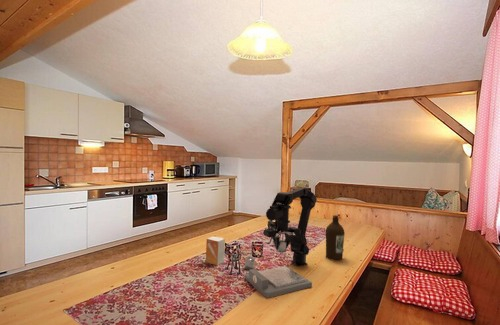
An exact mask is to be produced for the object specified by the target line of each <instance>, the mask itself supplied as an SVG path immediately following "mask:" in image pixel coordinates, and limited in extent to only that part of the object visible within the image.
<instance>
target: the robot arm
mask: <svg viewBox="0 0 500 325" xmlns="http://www.w3.org/2000/svg"><path fill="white" fill-rule="evenodd" d="M297 198H298V199H300V205H301V211H300V216H299V220H298V224H297V227H296V226H289V224H290V223H291V221H290V220H289V218H290V217H289V216H290V209H291V208H292V206H291V204H292V203H293V201H294V200H295V199H297ZM316 203H317V196H316V195H315V193H314V192H312V191H310V190H309V189H308V187H304V186H299V187H297V188H295V189H292V190H290V191H287V192H286V191H282V192H280V191H279V192H277V194H276V196H275V197H274V199H273V201H272V203H271V205H269V208H268V209H267V210H266V212H265V217H266V219H267V220H268V221H267V228H265V229H264V230H263V232H262V234H263V235H264V236H265V237H267V238H271V239H272V241H273V243H274V244H273V245H274V247H275V250H276V249H277V250H278V246H279V240H281V237H280V236H279V235H281V234H282V235H283V234H284V240H286V241H287V245H286V250H287V249H288V247H289V246H290V252H293V255H292V260H291V263H292V264H293V265H296V266H298V267H303V266H306V265H307V266H308V263H307V255H309V253H310V249H309V247H308V245H307V243H308V241H307V240H308V239H307V237H306V233H307V229H308V224H309V221H310V220H309V219H310V215H311V211H312V209H314V207H315V205H316Z"/></svg>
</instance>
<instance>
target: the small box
mask: <svg viewBox="0 0 500 325" xmlns="http://www.w3.org/2000/svg"><path fill="white" fill-rule="evenodd" d="M225 242H226V239H225V238H223V237H220V236H219V237H218V236H215V235H214V236H210V237H208V238H206V248H205V250H206V251H205V263H207V264H211V265H215V266H220V265H221V264H223V263H224V262H225V249H226V247H225V245H226V243H225Z"/></svg>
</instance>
